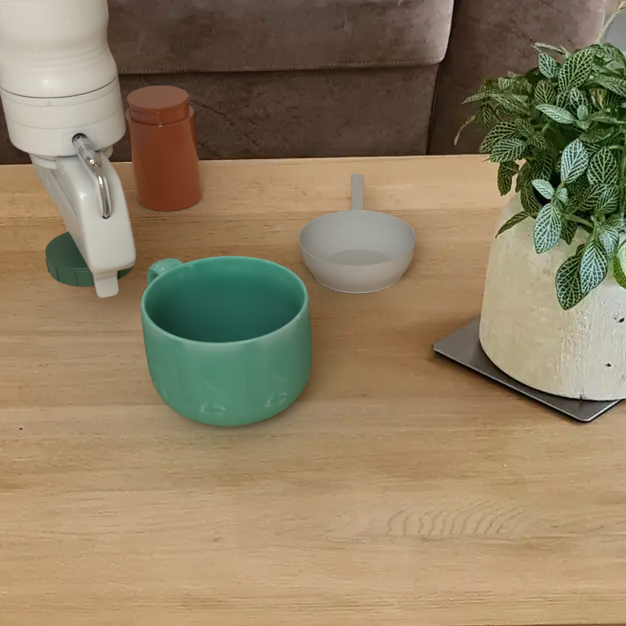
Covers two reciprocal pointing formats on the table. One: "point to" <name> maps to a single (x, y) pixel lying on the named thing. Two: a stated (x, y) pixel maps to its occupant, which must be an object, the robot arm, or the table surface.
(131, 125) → the jam jar
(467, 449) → the table surface
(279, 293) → the mug
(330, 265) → the small pan
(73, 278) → the jar lid
